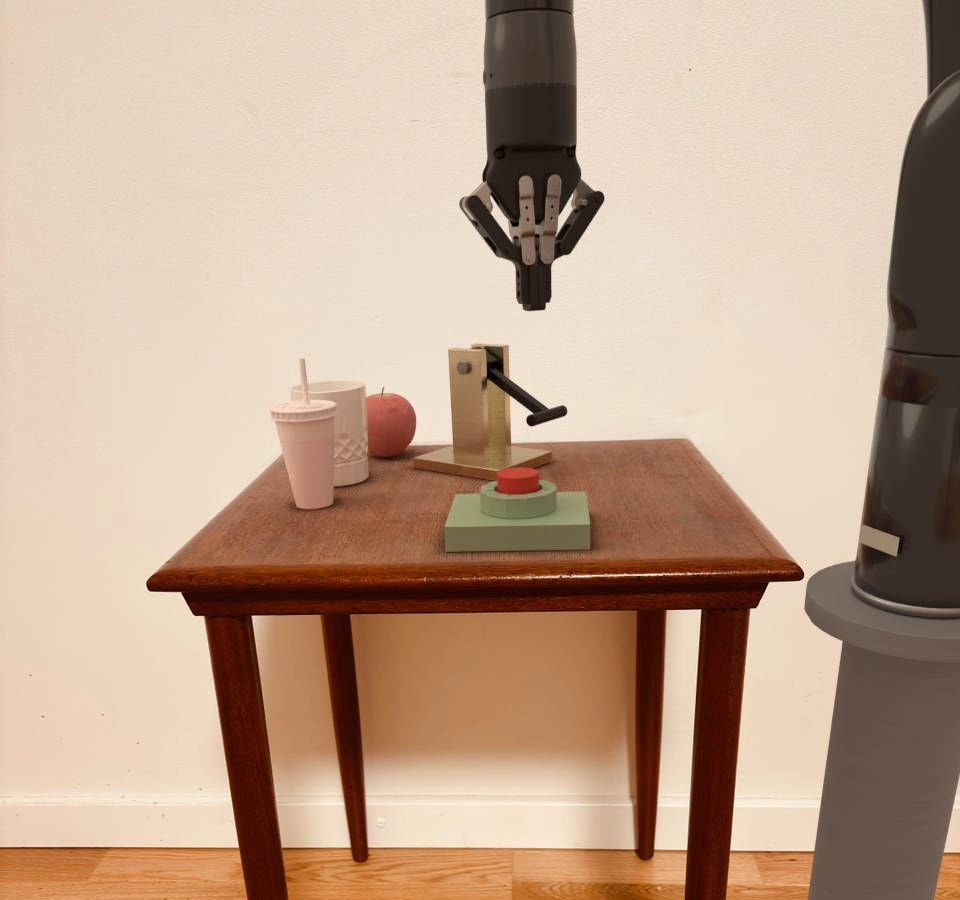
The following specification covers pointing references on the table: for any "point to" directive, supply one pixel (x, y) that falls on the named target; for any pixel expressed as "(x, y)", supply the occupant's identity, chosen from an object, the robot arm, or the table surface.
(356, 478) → the white cup
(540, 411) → the lever
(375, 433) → the apple
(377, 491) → the table surface
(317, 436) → the smoothie
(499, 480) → the button
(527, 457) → the tan pivot stand
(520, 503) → the button block
